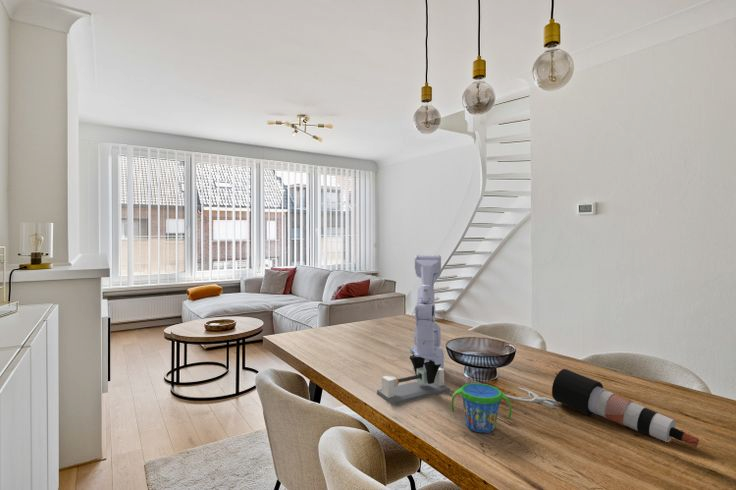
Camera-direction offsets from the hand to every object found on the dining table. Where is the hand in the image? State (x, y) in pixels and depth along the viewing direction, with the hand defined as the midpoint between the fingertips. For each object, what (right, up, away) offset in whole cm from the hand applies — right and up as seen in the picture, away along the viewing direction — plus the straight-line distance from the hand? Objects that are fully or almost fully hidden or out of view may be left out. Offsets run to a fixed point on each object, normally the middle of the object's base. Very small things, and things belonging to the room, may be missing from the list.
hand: (424, 380), depth 132 cm
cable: (+50, -4, -24) cm, 55 cm away
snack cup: (+11, -4, -26) cm, 28 cm away
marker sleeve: (0, 0, 0) cm, 0 cm away
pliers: (+33, -4, -7) cm, 34 cm away
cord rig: (-4, -3, -2) cm, 6 cm away
